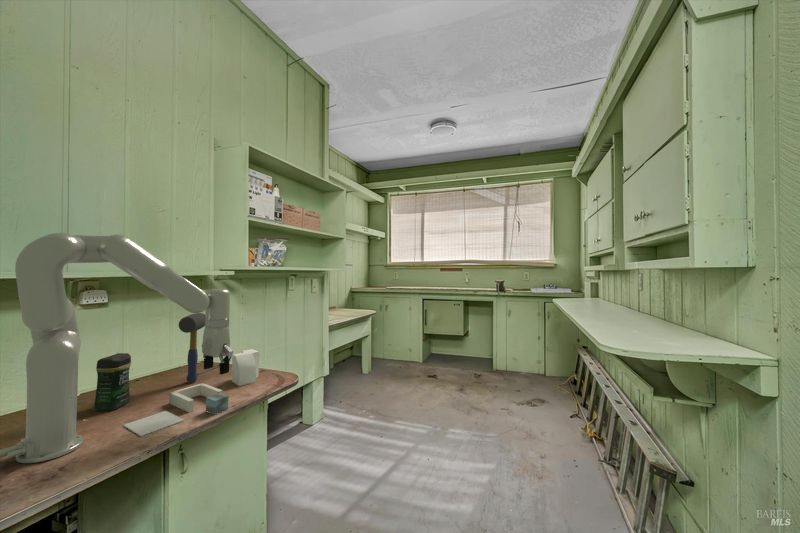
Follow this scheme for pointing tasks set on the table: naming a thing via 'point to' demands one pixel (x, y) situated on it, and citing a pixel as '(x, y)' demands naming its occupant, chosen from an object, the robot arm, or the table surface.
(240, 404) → the table surface
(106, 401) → the coffee jar
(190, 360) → the rubber mallet
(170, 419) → the mat
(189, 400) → the bay
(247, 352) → the corner bracket
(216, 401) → the block
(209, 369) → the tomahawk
